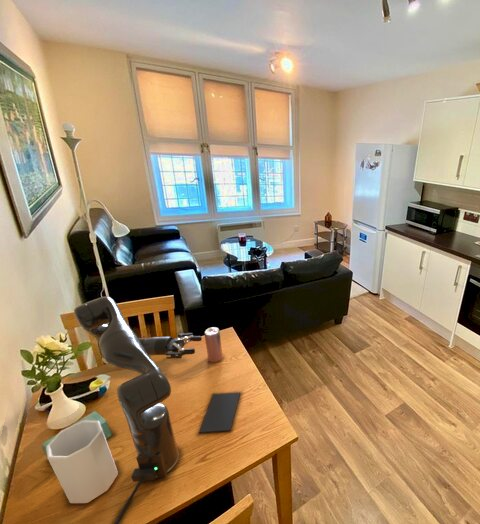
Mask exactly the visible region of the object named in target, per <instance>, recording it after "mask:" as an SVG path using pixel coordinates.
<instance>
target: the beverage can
mask: <svg viewBox="0 0 480 524" xmlns="http://www.w3.org/2000/svg"><path fill="white" fill-rule="evenodd" d="M204 341H205V347H206V355H207V360H208V361H209V362H210V363H216V362H217V363H218V362H219V361H221V359H222V358H223V347H222V340H221V333H220V329H219V327H216V326H212V327H208V328H207V329H205V331H204Z"/></svg>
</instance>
